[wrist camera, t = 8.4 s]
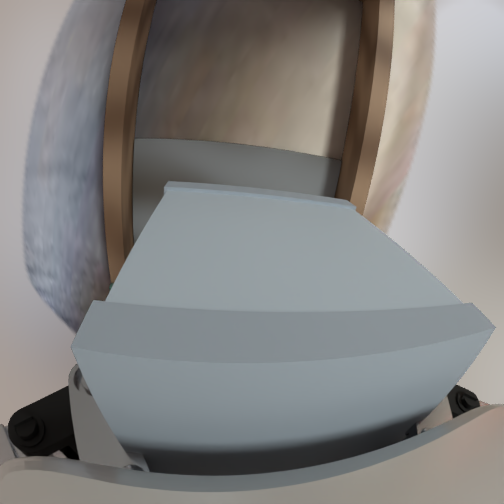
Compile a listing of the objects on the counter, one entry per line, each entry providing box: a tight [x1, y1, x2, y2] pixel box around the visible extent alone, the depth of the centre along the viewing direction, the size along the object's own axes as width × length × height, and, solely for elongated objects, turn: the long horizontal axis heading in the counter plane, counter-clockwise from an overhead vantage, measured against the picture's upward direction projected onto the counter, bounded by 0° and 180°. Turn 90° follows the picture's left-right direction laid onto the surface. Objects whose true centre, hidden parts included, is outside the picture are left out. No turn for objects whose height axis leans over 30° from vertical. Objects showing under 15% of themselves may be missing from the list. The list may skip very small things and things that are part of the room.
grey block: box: [71, 181, 496, 476], centre depth 8 cm, size 8×6×7 cm
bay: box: [103, 0, 395, 290], centre depth 15 cm, size 25×16×3 cm, turn 172°
